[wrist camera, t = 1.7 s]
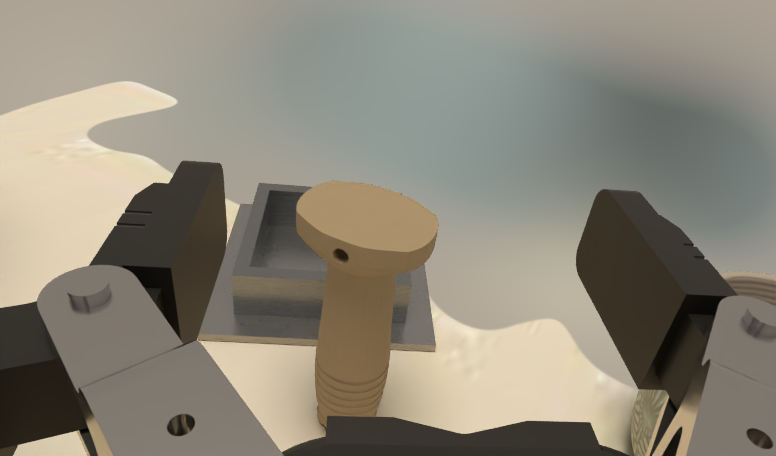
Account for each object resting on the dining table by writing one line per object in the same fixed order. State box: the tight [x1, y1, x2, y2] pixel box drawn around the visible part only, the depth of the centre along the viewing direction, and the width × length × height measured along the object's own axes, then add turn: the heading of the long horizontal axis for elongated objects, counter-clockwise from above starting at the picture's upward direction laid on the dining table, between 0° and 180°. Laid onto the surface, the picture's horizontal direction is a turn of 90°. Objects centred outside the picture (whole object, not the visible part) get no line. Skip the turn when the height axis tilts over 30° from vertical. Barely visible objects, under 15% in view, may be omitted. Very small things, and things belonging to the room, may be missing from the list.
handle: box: [296, 181, 439, 427], centre depth 29 cm, size 5×6×15 cm
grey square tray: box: [198, 183, 436, 352], centre depth 44 cm, size 16×16×4 cm
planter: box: [631, 271, 776, 456], centre depth 30 cm, size 12×12×11 cm
